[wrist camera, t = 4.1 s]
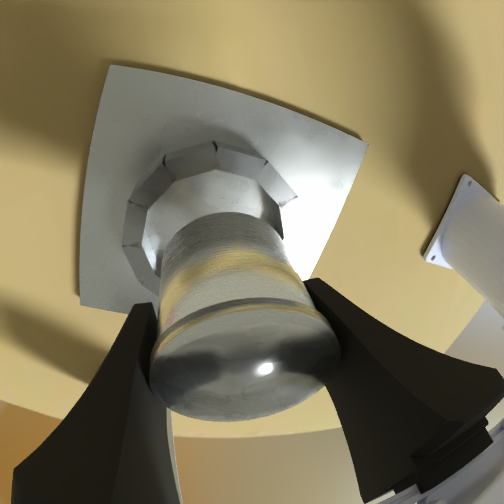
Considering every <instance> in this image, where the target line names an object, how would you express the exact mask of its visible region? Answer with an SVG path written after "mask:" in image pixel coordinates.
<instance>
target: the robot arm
mask: <svg viewBox="0 0 504 504" xmlns="http://www.w3.org/2000/svg"><path fill="white" fill-rule="evenodd" d="M423 258H424V260H425V261H427V262H429V263H433V264H436V265H440V266H443V267H447V268H450V269H453V270H455V271H456V272H457V273H458V274H460V275H461V276H462V277H463V278H464V279H465V280H466V281H467V282H468V283H469V284H470V285H471V286H472V287H473V288H474V289H475V290H476V291H477V292H479V293H480V294H481V295H482V296H483V297H484V298H485V299H486V300H487V301H488V302H489V303H490V304H491V305H492V306H493V308H495V310H496V311H498V313H499V314H500V315H501V316H502V317H503V318H504V206H503V205H502V204H500V203H499V202H498V201H497V200H496V199H495V198H494V197H493V196H492V195H491V194H490V193H488V192H487V191H486V190H485V189H484V188H483V187H482V186H481V185H479V184H478V183H477V182H476V181H475V180H474V179H473V178H471V177H470V176H469V175H467V174H464V175H463V176H462V177H461V179H460V182H459V184H458V186H457V189H456V191H455V193H454V196H453V198H452V200H451V202H450V204H449V206H448V209H447V211H446V213H445V215H444V217H443V219H442V221H441V223H440V225H439V227H438V229H437V231H436V233H435V235H434V237H433V239H432V241H431V242H430V244H429V246H428V248H427V250H426V252H425V253H424V257H423ZM302 281H303V283H304V285H305V287H306V289H307V291H308V293H309V295H310V297H311V299H312V301H313V303H314V306H315V308H316V310H317V311H318V312H320V313H321V314H322V315H323V316H324V317H325V318H326V319H327V321H328V322H329V324H330V326H331V328H332V330H333V332H334V334H335V336H336V338H337V340H338V342H339V345H340V348H341V359H340V363H339V366H338V368H337V370H336V372H335V373H334V375H333V376H332V378H331V379H330V380H329V381H328V382H327V383H326V384H325V386H326V388H327V390H328V392H329V394H330V396H331V399H332V401H333V403H334V406H335V408H336V411H337V414H338V417H339V419H340V422H341V425H342V428H343V431H344V434H345V437H346V440H347V443H348V446H349V450H350V454H351V457H352V461H353V464H354V468H355V473H356V477H357V481H358V485H359V491H360V495H361V497H362V500H363V502H364V504H366V503H368V502H370V501H373V500H375V499H377V498H379V497H381V496H383V495H385V494H387V493H389V492H391V491H393V490H394V492H395V494H396V495H394V496H392V497H390V498H388V499H386V500H384V501H382V502H380V503H378V504H415V503H416V502H417V504H504V419H502V420H501V421H500V422H499V423H498V424H497V425H496V426H495V427H494V428H493V429H491V430H490V431H489V432H488V431H487V430H486V428H485V427H486V426H487V425H488V420H487V419H486V417H485V416H486V415H487V414H488V413H489V412H490V411H491V410H492V409H493V408H494V407H495V406H496V405H497V403H499V402H500V401H501V399H502V398H503V397H504V379H503V377H502V376H501V375H500V373H499V372H498V370H497V369H495V368H490V367H486V366H481V365H477V364H472V363H469V362H466V361H463V360H459V359H456V358H453V357H450V356H447V355H445V354H442V353H440V352H437V351H435V350H433V349H430V348H428V347H426V346H423V345H421V344H419V343H417V342H415V341H413V340H411V339H409V338H407V337H405V336H404V335H402V334H400V333H398V332H396V331H394V330H393V329H391V328H389V327H388V326H386V325H385V324H383V323H381V322H380V321H378V320H377V319H375V318H374V317H372V316H371V315H369V314H368V313H366V312H365V311H363V310H362V309H361V308H359V307H358V306H356V305H355V304H354V303H352V302H351V301H349V300H348V299H347V298H345V297H344V296H343V295H341V294H340V293H339V292H337V291H336V290H335V289H333V288H332V287H331V286H329V285H328V284H327V283H325V282H324V281H322V280H321V279H320V278H313V279H307V280H302ZM502 328H503V330H504V326H503V327H502ZM156 338H157V317H156V314H155V310H154V307H153V304H152V302H147V303H138V304H134V305H133V307H132V309H131V311H130V313H129V315H128V317H127V319H126V321H125V323H124V325H123V326H122V328H121V330H120V332H119V334H118V336H117V338H116V340H115V342H114V343H113V345H112V347H111V349H110V351H109V353H108V355H107V356H106V358H105V360H104V361H103V363H102V365H101V366H100V368H99V370H98V371H97V373H96V375H95V376H94V378H93V380H92V381H91V383H90V384H89V386H88V387H87V389H86V390H85V392H84V393H83V394H82V396H81V397H80V399H79V400H78V401H77V403H76V404H75V405H74V407H73V408H72V409H71V411H70V412H69V413H68V415H67V416H66V417H65V418H64V419H63V421H62V422H61V423H60V425H58V427H57V428H56V429H55V430H54V431H53V432H52V433H51V434H50V435H49V436H48V437H47V439H46V440H45V441H44V442H43V443H42V444H41V445H40V446H39V447H38V448H37V449H36V450H35V451H34V452H33V453H31V455H29V456H28V457H27V458H26V459H25V460H24V461H22V462H21V463H20V464H19V465H18V466H17V467H15V468H14V472H13V480H12V497H11V504H180V501H179V496H178V492H177V488H176V483H175V478H174V473H173V468H172V462H171V456H170V450H169V443H168V435H167V407H166V406H164V405H163V404H162V403H161V402H160V401H159V400H158V399H157V398H156V397H155V396H154V394H153V392H152V390H151V387H150V383H149V370H150V356H151V351H152V349H153V346H154V344H155V342H156Z"/></svg>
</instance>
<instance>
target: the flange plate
mask: <svg viewBox="0 0 504 504" xmlns="http://www.w3.org/2000/svg"><path fill="white" fill-rule="evenodd" d="M368 145H369V144H367V143H365V142H363V141H361V140H359V139H357V138H355V137H353V136H351V135H349V134H346V133H344V132H342V131H340V130H338V129H335V128H333V127H331V126H329V125H326V124H324V123H322V122H319V121H317V120H315V119H312V118H310V117H307V116H305V115H302V114H300V113H297V112H295V111H292V110H289V109H287V108H284V107H281V106H279V105H276V104H273V103H270V102H267V101H264V100H261V99H258V98H255V97H252V96H249V95H246V94H243V93H240V92H236V91H233V90H230V89H226V88H223V87H219V86H216V85H212V84H208V83H204V82H200V81H196V80H192V79H188V78H184V77H180V76H175V75H170V74H165V73H161V72H155V71H150V70H144V69H138V68H132V67H126V66H119V65H111V64H110V67H109V70H108V73H107V77H106V80H105V84H104V88H103V91H102V95H101V99H100V103H99V107H98V112H97V116H96V120H95V125H94V130H93V135H92V140H91V146H90V152H89V158H88V164H87V171H86V178H85V186H84V195H83V205H82V217H81V233H80V262H79V282H80V305H82V306H87V307H92V308H97V309H103V310H108V311H114V312H119V313H125V314H129V313H130V311H131V309H132V307H133V305H134V304H138V303H147V302H152V304H153V307H154V310H155V314H156V317H157V319H158V304H159V291H160V279H161V269H162V259H163V255H164V252H165V249H166V247H167V245H168V243H169V242H170V240H171V239H172V238H173V236H174V235H175V234H176V233H177V232H178V231H179V230H180V229H181V228H183V227H184V226H185V225H187V224H188V223H190V222H192V221H194V220H196V219H198V218H200V217H203V216H206V215H209V214H213V213H220V212H238V213H244V214H248V215H252V216H254V217H257V218H259V219H261V220H263V221H264V222H266V223H267V224H269V225H270V226H271V227H272V228H273V229H274V230H275V231H276V232H277V233H278V234H279V236H280V238H281V239H282V241H283V243H284V245H285V247H286V249H287V251H288V253H289V255H290V257H291V259H292V261H293V263H294V265H295V267H296V269H297V271H298V273H299V275H300V277H301V279H302V280H307V279H308V278H309V276H310V274H311V272H312V270H313V268H314V266H315V264H316V262H317V260H318V258H319V256H320V254H321V252H322V249H323V247H324V245H325V243H326V241H327V239H328V237H329V235H330V233H331V230H332V228H333V226H334V224H335V222H336V220H337V217H338V215H339V213H340V211H341V209H342V206H343V204H344V202H345V200H346V197H347V195H348V193H349V191H350V188H351V186H352V184H353V181H354V179H355V177H356V174H357V172H358V170H359V167H360V165H361V162H362V160H363V158H364V155H365V153H366V150H367V148H368Z"/></svg>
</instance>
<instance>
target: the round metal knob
mask: <svg viewBox="0 0 504 504" xmlns="http://www.w3.org/2000/svg"><path fill="white" fill-rule="evenodd" d="M340 359H341V348H340V345H339V342H338V340H337V338H336V336H335V334H334V332H333V330H332V328H331V326H330V324H329V322H328V321H327V319H326V318H325V317H324V316H323V315H322V314H321V313H320V312H318V311H317V310H316V308H315V306H314V303H313V301H312V299H311V297H310V295H309V293H308V291H307V289H306V287H305V285H304V283H303V281H302V279H301V277H300V275H299V273H298V271H297V269H296V267H295V265H294V263H293V261H292V259H291V257H290V255H289V253H288V251H287V249H286V247H285V245H284V243H283V241H282V239H281V238H280V236H279V234H278V233H277V232H276V231H275V230H274V229H273V228H272V227H271V226H270V225H269V224H267V223H266V222H264V221H263V220H261V219H259V218H257V217H254V216H252V215H248V214H244V213H238V212H220V213H213V214H209V215H206V216H203V217H200V218H198V219H196V220H194V221H192V222H190V223H188V224H187V225H185V226H184V227H183V228H181V229H180V230H179V231H178V232H177V233H176V234H175V235H174V236H173V238H172V239H171V240H170V242H169V243H168V245H167V247H166V249H165V252H164V255H163V259H162V269H161V279H160V291H159V304H158V319H157V338H156V342H155V344H154V346H153V349H152V351H151V356H150V370H149V383H150V387H151V390H152V392H153V394H154V396H155V397H156V398H157V399H158V400H159V401H160V402H161V403H162V404H163V405H164V406H166V407H167V408H169V409H171V410H172V411H174V412H177V413H179V414H181V415H184V416H187V417H191V418H195V419H200V420H206V421H217V422H231V421H244V420H251V419H256V418H261V417H265V416H269V415H272V414H275V413H278V412H281V411H284V410H286V409H289V408H291V407H293V406H295V405H297V404H299V403H301V402H303V401H304V400H306V399H308V398H309V397H311V396H312V395H314V394H315V393H316V392H318V391H319V390H320V389H321V388H322V387H323V386H324V385H325V384H326V383H327V382H328V381H329V380H330V379H331V378H332V376H333V375H334V373H335V372H336V370H337V368H338V366H339V363H340Z"/></svg>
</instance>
